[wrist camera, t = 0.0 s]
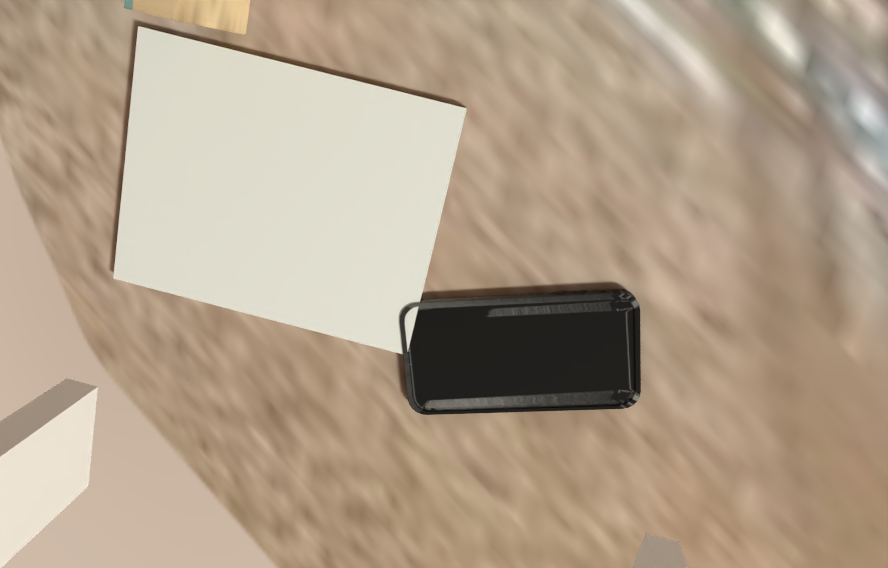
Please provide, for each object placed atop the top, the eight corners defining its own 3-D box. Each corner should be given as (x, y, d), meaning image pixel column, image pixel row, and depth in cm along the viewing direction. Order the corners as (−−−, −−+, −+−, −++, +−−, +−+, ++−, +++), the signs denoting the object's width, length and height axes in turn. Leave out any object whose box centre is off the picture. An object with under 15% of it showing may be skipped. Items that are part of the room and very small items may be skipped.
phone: (640, 408, 44) (409, 415, 45) (637, 400, 45) (412, 407, 47) (639, 290, 42) (397, 302, 43) (636, 285, 43) (400, 297, 44)
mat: (143, 27, 41) (137, 26, 40) (467, 108, 40) (466, 108, 40) (118, 276, 46) (113, 278, 45) (408, 352, 45) (406, 355, 44)
